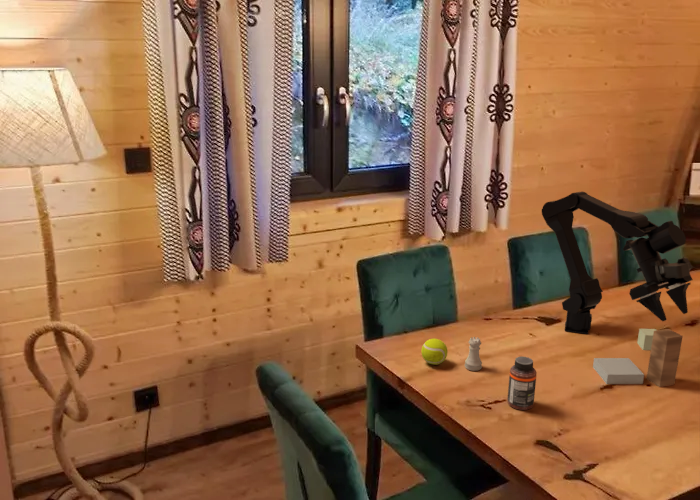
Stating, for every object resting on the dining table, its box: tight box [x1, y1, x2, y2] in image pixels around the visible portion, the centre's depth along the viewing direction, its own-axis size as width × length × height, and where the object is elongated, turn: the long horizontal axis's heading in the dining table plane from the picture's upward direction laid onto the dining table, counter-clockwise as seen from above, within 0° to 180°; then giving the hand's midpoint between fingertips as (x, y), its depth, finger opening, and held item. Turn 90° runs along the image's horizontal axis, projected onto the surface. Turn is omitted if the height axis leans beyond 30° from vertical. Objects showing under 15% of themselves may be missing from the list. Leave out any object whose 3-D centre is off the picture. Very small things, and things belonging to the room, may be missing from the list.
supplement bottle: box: [507, 355, 537, 411], centre depth 155 cm, size 6×6×11 cm
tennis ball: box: [421, 338, 448, 366], centre depth 176 cm, size 7×7×7 cm
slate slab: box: [592, 357, 645, 385], centre depth 171 cm, size 9×9×3 cm
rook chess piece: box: [464, 336, 483, 372], centre depth 173 cm, size 4×4×8 cm
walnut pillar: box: [646, 328, 684, 388], centre depth 167 cm, size 4×4×13 cm
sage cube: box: [636, 328, 657, 351], centre depth 187 cm, size 4×4×4 cm
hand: (675, 317), depth 172 cm, fingers open, 9 cm apart
